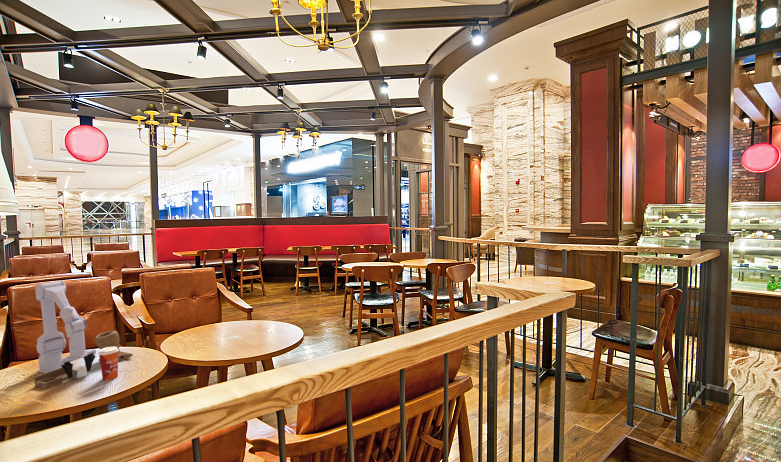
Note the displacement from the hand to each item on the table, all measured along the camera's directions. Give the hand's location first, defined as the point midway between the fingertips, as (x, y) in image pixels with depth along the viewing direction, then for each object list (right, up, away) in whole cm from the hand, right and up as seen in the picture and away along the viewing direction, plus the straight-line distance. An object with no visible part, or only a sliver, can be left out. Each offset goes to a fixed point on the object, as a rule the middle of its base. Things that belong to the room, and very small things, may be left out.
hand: (79, 374), depth 180 cm
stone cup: (0, -1, +21) cm, 21 cm away
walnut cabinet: (-5, -2, -4) cm, 6 cm away
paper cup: (+16, -2, -1) cm, 16 cm away
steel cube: (0, -1, 0) cm, 1 cm away
